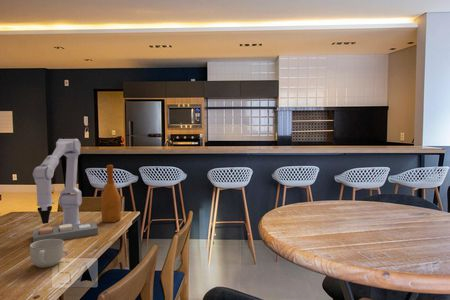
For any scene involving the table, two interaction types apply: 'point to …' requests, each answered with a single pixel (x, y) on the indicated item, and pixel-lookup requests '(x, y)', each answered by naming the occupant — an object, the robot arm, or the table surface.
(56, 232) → the key console
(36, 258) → the teacup
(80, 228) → the pale blue key
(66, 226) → the off-white key
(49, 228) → the terracotta key
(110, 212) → the wine bottle
